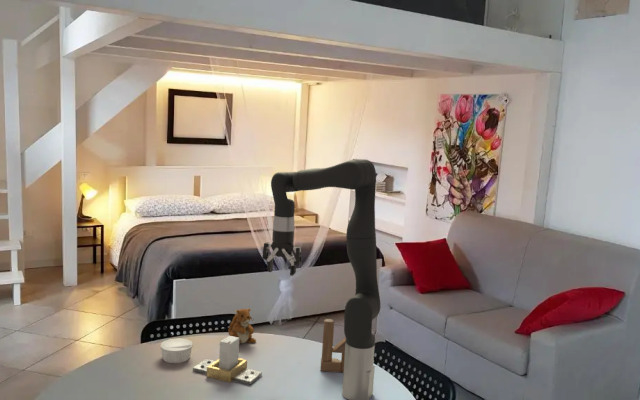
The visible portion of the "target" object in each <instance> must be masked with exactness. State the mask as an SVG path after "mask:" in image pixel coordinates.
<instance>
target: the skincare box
mask: <svg viewBox="0 0 640 400" xmlns="http://www.w3.org/2000/svg"><path fill="white" fill-rule="evenodd" d="M239 349H240V344H239V338H238V337H234V336H229V335H228V336H226V337H225V338H224V339H222V340H220V342H219V355H218V356H219V358H218V359H219V368H221V369H225V370H229V371H230V370H231V369H233V368H234V367H235V366H237V365H238V358H239V354H240V351H239Z"/></svg>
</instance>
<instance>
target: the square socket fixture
mask: <svg viewBox="0 0 640 400" xmlns="http://www.w3.org/2000/svg"><path fill="white" fill-rule="evenodd" d="M192 372H196V373H199V374H200V373H201V374H204V375H206V378H211V379H214V380H218V381H223V382H226V383H233V382H235V383H239V384H244V385H249V386H251V385H252V384H254V383H255V382H256V381H257V380H258V379H259V378H261V377H262V376H263V375H262V374H263V372H262V371H260V370H254V369H250V368H248V360H247V359H245V358H241V357H240V358H239V357H238V365H237V366H235V367H234V368H233V369H231V370H230V371H229V370H225V369H221V368H219V358H217V359H216V360H211V359H208V358H205V359H204V360H202V361H201V362H199V363H197V364H196V365H195V366H193V367H192Z"/></svg>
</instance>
